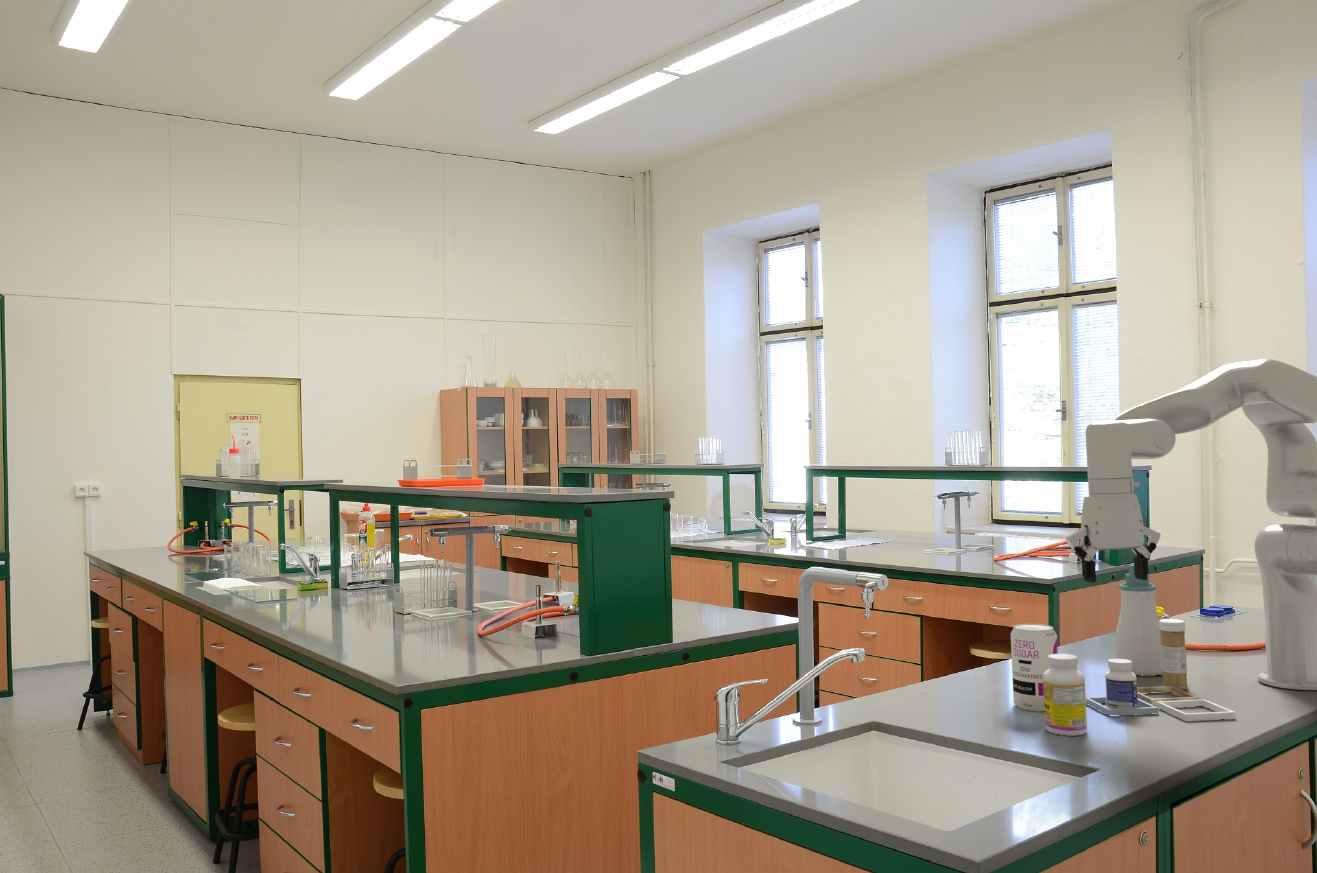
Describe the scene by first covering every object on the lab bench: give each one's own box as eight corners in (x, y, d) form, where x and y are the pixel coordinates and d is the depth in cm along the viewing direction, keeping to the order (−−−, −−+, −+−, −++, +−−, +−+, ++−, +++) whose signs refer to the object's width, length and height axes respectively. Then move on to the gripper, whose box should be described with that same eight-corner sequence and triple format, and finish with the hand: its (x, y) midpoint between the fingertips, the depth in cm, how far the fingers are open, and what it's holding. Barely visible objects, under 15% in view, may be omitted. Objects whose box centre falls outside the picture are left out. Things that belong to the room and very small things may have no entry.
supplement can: (1058, 702, 183) (1055, 623, 183) (1061, 714, 175) (1058, 631, 175) (1013, 700, 185) (1009, 622, 186) (1014, 711, 178) (1010, 630, 178)
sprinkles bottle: (1173, 684, 193) (1170, 617, 194) (1193, 689, 189) (1190, 620, 189) (1156, 687, 192) (1153, 619, 192) (1176, 691, 188) (1172, 623, 188)
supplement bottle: (1048, 724, 169) (1045, 651, 169) (1089, 728, 165) (1086, 653, 166) (1042, 734, 163) (1039, 658, 163) (1084, 739, 159) (1081, 661, 160)
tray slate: (1131, 701, 181) (1131, 695, 181) (1158, 714, 172) (1158, 707, 172) (1085, 704, 181) (1084, 697, 181) (1109, 716, 172) (1109, 710, 172)
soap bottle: (1117, 676, 202) (1112, 567, 202) (1114, 666, 211) (1109, 562, 211) (1170, 678, 198) (1164, 568, 199) (1164, 668, 207) (1159, 562, 208)
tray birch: (1171, 692, 187) (1171, 686, 187) (1199, 703, 178) (1199, 697, 178) (1126, 694, 187) (1126, 688, 187) (1152, 706, 178) (1151, 699, 178)
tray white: (1204, 705, 177) (1203, 699, 177) (1235, 719, 168) (1235, 712, 168) (1156, 708, 176) (1156, 701, 177) (1185, 721, 168) (1185, 714, 168)
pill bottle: (1141, 713, 174) (1139, 664, 174) (1110, 712, 175) (1108, 663, 175) (1133, 705, 179) (1131, 657, 179) (1103, 705, 180) (1101, 657, 180)
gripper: (1144, 485, 182) (1150, 575, 181) (1055, 489, 181) (1060, 580, 181) (1167, 486, 174) (1172, 580, 174) (1074, 491, 174) (1079, 585, 173)
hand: (1115, 580), depth 177 cm, fingers open, 9 cm apart
